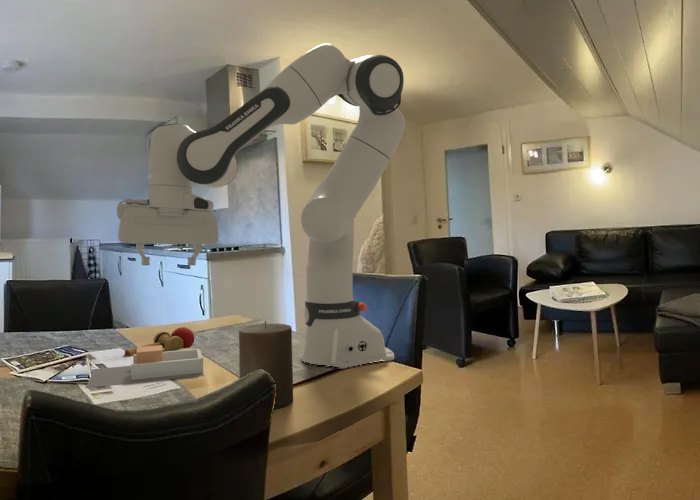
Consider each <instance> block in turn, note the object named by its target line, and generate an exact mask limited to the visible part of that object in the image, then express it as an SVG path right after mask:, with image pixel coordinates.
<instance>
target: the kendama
mask: <svg viewBox="0 0 700 500" xmlns="http://www.w3.org/2000/svg"><path fill="white" fill-rule="evenodd" d="M194 343H195V334H194V333H193V331H192V330H191V329H190V328H188V327H185V326H180V327H178V328H176V329H175V330H173V331H172V333H171V335H170V333H169V332H167V331H159V332H157V333H156V335H155V336H154V337H153V342H152V343H149V344H144V345H142V346H140V347H146V346H158V345H162V349H164V351H165V352H166V351H171V350H177V349H178V350H180V349H181V350H182V349H190V348H191V347H192V346H193V345H194ZM136 352H137V347H134V348H133V347H132V348H129V349H125V351H124V356H129V357H133V354H136Z"/></svg>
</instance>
